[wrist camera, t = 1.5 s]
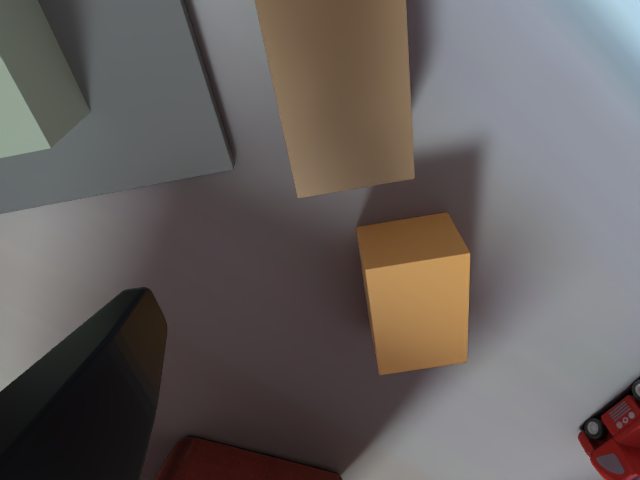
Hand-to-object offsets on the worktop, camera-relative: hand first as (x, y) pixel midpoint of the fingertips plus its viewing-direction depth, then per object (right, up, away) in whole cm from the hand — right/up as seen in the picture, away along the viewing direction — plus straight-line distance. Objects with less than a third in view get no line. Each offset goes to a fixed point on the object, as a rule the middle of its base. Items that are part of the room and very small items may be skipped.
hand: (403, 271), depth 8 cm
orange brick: (+3, -1, +17) cm, 17 cm away
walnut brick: (-1, +7, +10) cm, 13 cm away
